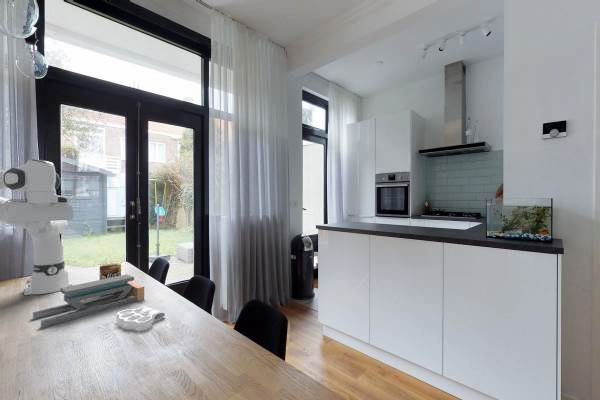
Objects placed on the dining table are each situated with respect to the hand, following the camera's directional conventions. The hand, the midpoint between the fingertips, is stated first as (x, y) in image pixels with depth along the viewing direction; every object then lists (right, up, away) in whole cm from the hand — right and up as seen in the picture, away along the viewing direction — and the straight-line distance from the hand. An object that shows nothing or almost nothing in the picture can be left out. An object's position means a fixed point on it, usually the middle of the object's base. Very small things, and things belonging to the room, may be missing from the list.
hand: (41, 232), depth 111 cm
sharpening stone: (+18, -34, +9) cm, 40 cm away
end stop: (+26, -34, +20) cm, 47 cm away
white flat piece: (+44, -35, -6) cm, 56 cm away
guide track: (+15, -34, +6) cm, 38 cm away
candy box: (+12, -34, +24) cm, 43 cm away
